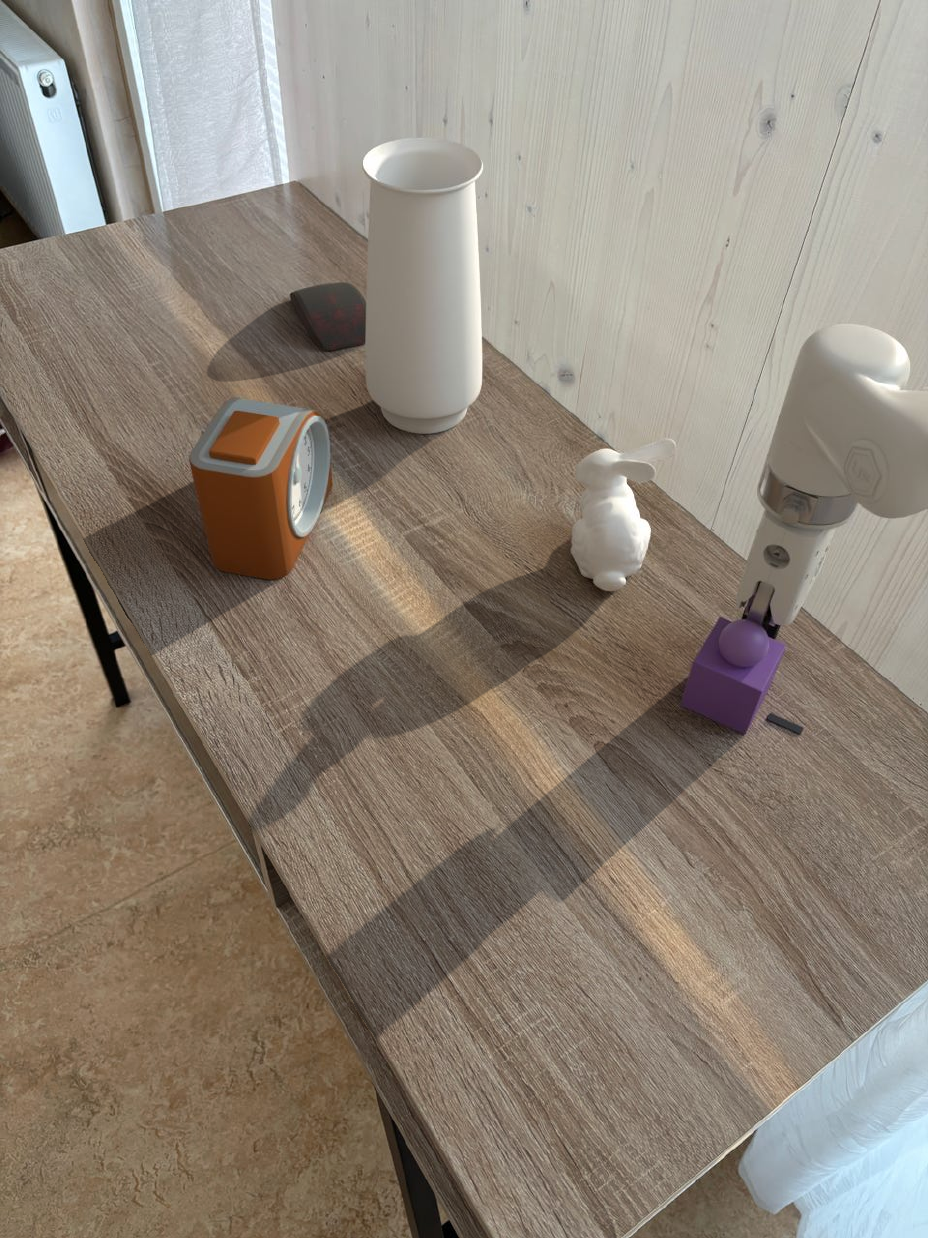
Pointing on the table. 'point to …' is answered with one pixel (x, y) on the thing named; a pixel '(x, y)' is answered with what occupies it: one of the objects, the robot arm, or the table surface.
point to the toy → (733, 673)
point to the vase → (423, 283)
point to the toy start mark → (785, 723)
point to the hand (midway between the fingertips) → (754, 640)
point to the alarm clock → (261, 484)
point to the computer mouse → (332, 314)
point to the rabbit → (613, 513)
